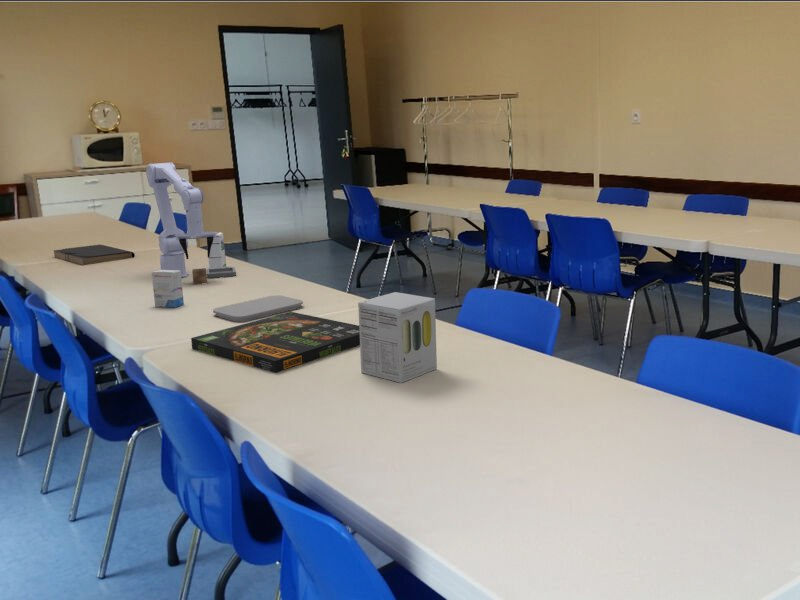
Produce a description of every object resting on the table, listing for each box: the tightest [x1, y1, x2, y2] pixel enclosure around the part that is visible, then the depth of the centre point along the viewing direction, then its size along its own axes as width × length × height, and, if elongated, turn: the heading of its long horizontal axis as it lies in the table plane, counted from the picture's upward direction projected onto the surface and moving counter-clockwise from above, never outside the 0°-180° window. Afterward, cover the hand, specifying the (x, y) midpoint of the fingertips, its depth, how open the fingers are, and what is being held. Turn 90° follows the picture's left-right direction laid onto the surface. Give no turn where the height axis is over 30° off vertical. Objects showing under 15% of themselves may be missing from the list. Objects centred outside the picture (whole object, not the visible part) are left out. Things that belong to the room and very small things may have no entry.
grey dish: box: [206, 266, 237, 279], centre depth 318 cm, size 11×11×2 cm
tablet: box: [212, 294, 304, 323], centre depth 258 cm, size 16×26×2 cm, turn 135°
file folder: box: [53, 244, 136, 266], centre depth 369 cm, size 33×4×24 cm
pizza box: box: [190, 311, 360, 374], centre depth 220 cm, size 35×35×4 cm
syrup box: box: [205, 231, 227, 269], centre depth 331 cm, size 6×6×14 cm
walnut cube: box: [191, 267, 208, 285], centre depth 305 cm, size 5×5×5 cm
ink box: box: [151, 269, 185, 308], centre depth 268 cm, size 9×5×12 cm, turn 71°
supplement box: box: [357, 291, 438, 384], centre depth 192 cm, size 13×13×18 cm
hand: (198, 258), depth 303 cm, fingers open, 7 cm apart
